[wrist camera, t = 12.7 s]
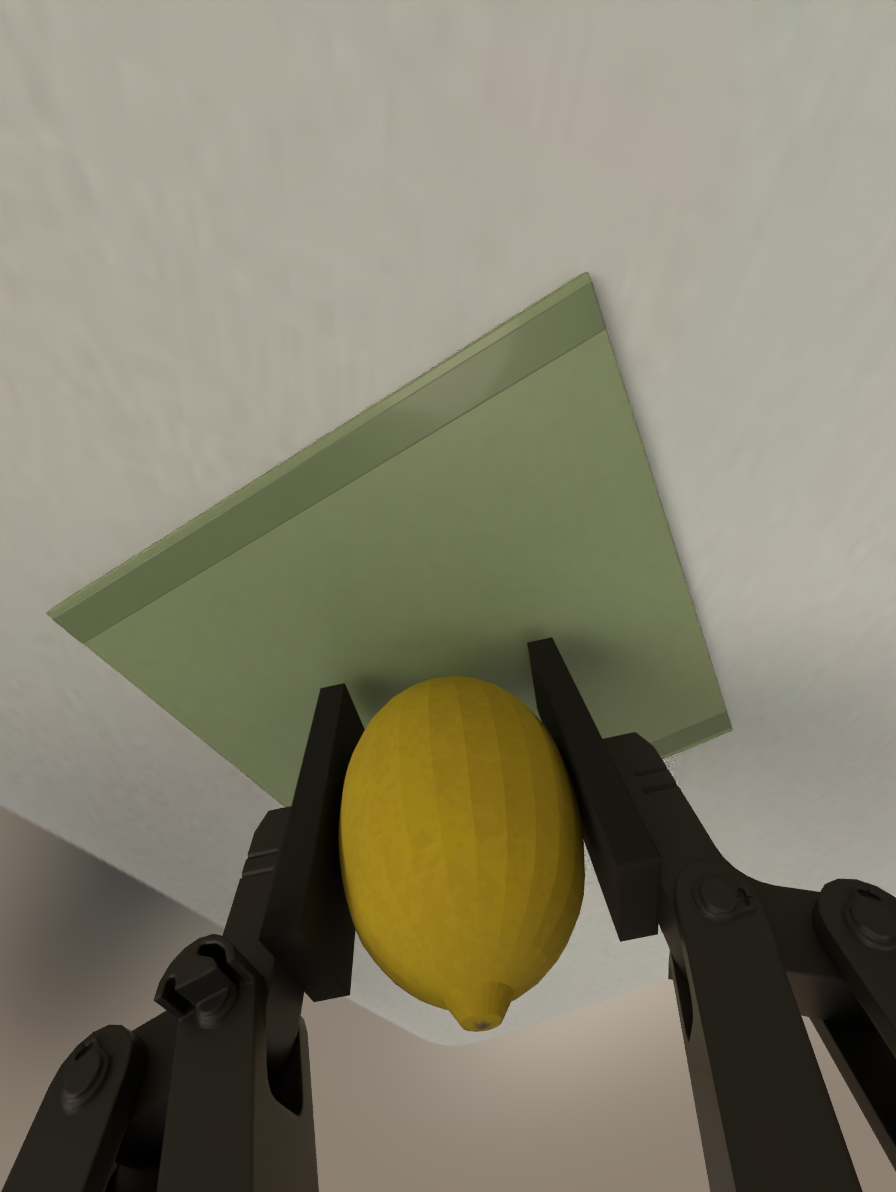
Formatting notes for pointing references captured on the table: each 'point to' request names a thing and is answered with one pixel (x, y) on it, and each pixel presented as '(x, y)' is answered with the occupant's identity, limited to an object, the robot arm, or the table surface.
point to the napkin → (426, 561)
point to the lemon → (461, 847)
